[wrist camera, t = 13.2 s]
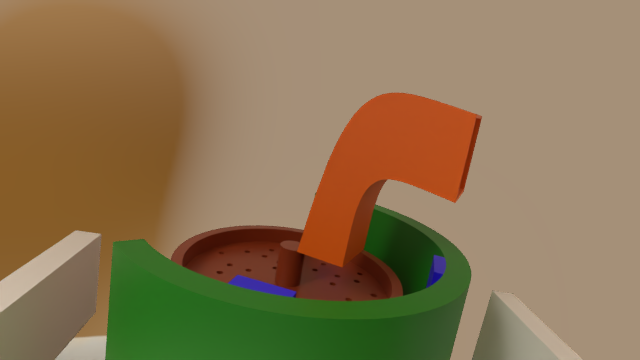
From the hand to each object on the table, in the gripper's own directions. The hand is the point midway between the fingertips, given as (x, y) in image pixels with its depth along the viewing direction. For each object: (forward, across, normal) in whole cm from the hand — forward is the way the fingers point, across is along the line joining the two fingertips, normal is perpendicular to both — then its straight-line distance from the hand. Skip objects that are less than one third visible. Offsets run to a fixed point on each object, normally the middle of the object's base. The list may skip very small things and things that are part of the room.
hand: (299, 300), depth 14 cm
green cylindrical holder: (-1, 0, -13) cm, 13 cm away
